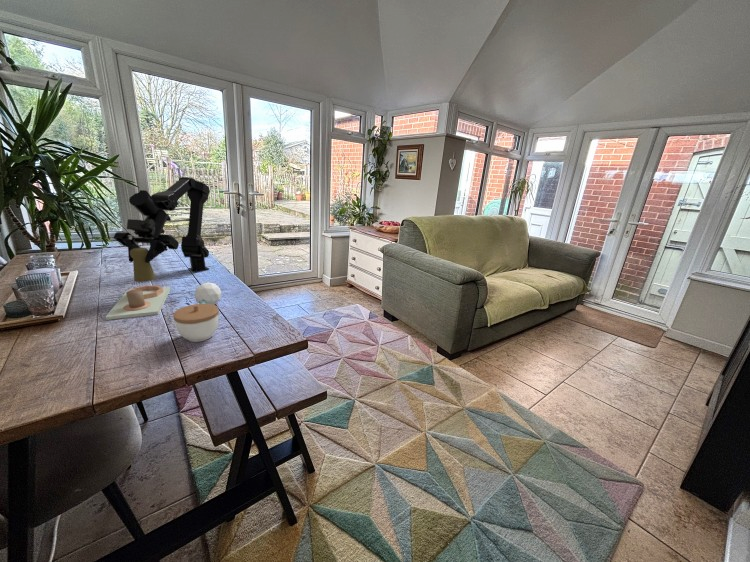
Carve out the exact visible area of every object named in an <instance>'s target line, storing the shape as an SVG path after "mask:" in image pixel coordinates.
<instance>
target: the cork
mask: <svg viewBox="0 0 750 562" xmlns="http://www.w3.org/2000/svg"><path fill="white" fill-rule="evenodd" d="M148 251H149V248H145V247H141V248H134V249H131V250H130V256H131V257H132V258H133V262H132V264H133V280H134V282H137V283H145V282H150V281H153V280H156V274H155V273H154V270H153V268H152V264H151V261H150V262H149V263H146V262H145V259H146V256H147V254H148Z"/></svg>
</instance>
